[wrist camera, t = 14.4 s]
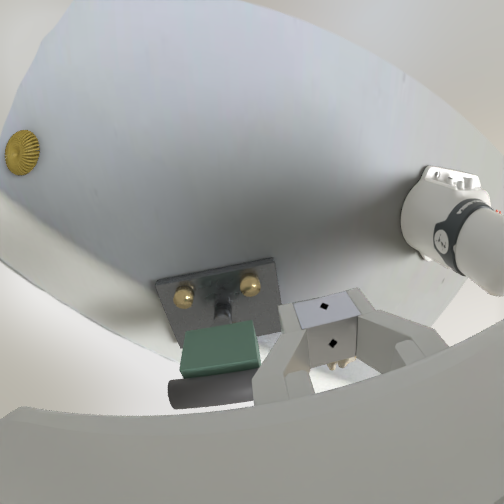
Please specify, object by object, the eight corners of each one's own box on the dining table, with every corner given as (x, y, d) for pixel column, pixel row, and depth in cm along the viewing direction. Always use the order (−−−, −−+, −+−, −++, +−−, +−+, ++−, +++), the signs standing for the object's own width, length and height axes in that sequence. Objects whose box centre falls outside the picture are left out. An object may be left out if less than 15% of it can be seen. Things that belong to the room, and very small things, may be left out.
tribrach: (272, 257, 48) (279, 277, 42) (283, 324, 54) (290, 348, 47) (157, 280, 48) (148, 302, 42) (182, 342, 54) (177, 367, 47)
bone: (346, 367, 58) (341, 390, 49) (322, 354, 60) (313, 375, 51) (367, 337, 56) (366, 358, 47) (342, 323, 58) (337, 341, 49)
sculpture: (0, 135, 31) (30, 126, 32) (13, 133, 35) (43, 125, 36) (2, 180, 34) (32, 174, 35) (15, 175, 38) (45, 170, 39)
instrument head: (261, 309, 43) (273, 380, 30) (267, 339, 45) (280, 408, 33) (177, 324, 43) (164, 394, 30) (189, 352, 45) (181, 420, 33)
